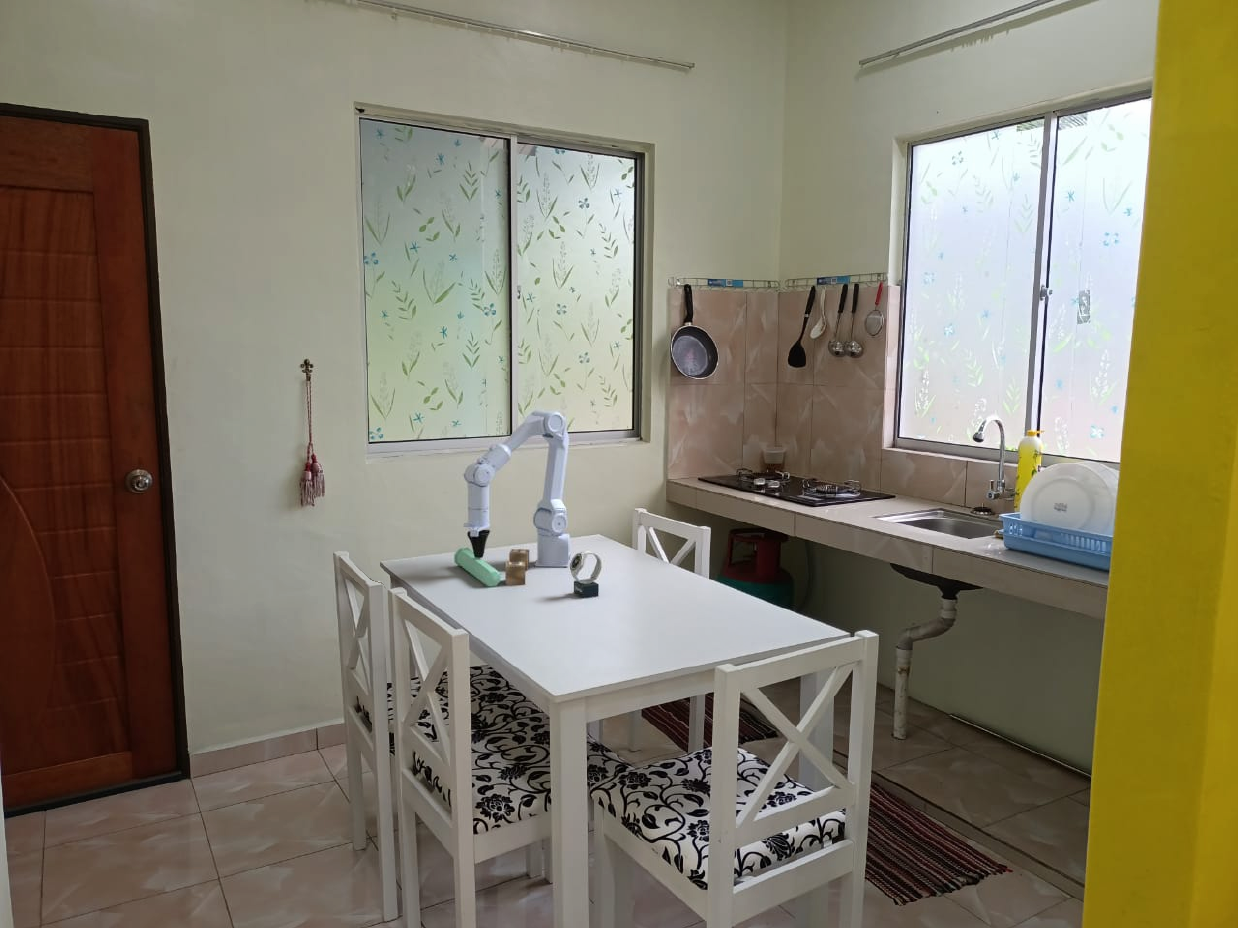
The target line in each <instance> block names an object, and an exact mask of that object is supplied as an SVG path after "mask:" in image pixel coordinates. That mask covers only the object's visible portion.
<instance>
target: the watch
mask: <svg viewBox="0 0 1238 928" xmlns="http://www.w3.org/2000/svg"><path fill="white" fill-rule="evenodd" d="M588 555H593V556H594V557H595V559H596V563H595V566H594V569H593V571H592V573H591V574H590V577H589V578H586V579H579V578H578V577H577V576H578V575H579V573H580V572H581V570H582V569H583V568H584V566H585V563H586V559H587V557H588ZM602 566H603V565H602V559H601V558H600V556H599V555H598V554H597V553H594V552H592V551H590V550H584V551H581V552H578V553H576V554H575V555H574V556H573V557H572V559H571V560H570V562H569V570H570V573H571V576H572V577H573V578H574V580H573V593H574V594H575V595H576V596H578V595H579V596H578V597H580V598H582V599H588V598H597V597H599V594H600V593H599V591H600V590H599V589H600V588H599V587H600V586H599V583H597V582H595V581H596V580H597V579H598V577H599V575H600V573H601V572H602V571H601V570H602ZM596 596H597V597H596Z"/></svg>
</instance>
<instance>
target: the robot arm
mask: <svg viewBox="0 0 1238 928" xmlns="http://www.w3.org/2000/svg"><path fill="white" fill-rule="evenodd" d="M567 422H568V420H567V419H566V418H565V417H564V415H562V413H560V412H559V411H550V410H543V409H539V408H538V409H534V410H533V411H532V412H531V413H530V414H528V415H527V416H526V417H524V420H523V422H522V423H521V424H520V425H519V426H518V427H517V428H516V429H515V430H514V431H513V432H512V433H511V435H509V436H508V438H506V439H505V441H504V442H503V443H502V444H500V443H496V444H494V445H493V444H492V445H490V446H489V447H488V449H489V450H488V451H486V453H485V454H483V455H482V456H481V457H478V458H477V459H476V462H474V463H473V462H472V463H470V464H469V465H468V466H467V467H466V468H465V472H464V473H463V478H464V480H465V482H466V484H467V522H464V523H463V527H465V528H468V530H469V531H467V534H466V535H467V538H468V539H469V541H470V544H471V547H472V552H473V553H474V557H475V558H480V559H482V558H483V557H484V555H485V550H486V543H487V540H488V537H489V536H490V535H489V534H490V533H491V530H490V529H489V528H491V523H490V484H492V482H493V481H494V477H495V475H496V473H498V472H499V470H501V469H502V468H503V467H504V466H505V465H506V464H507V463H508V462H509V461H510V460H511V456H512V453H513V452H514V451H516V450H517V449H518V448H519V447H520V446H522V444H524V443H525V442H526V441H527V440H529V439H530V438H531V437H533V436H542V437H543V439H544V440H545V441H546V442H547V443H548V454H547V459H546V461H547V463H546V469H545V476H544V477H545V478H544V485H543V491H542V499H541V500H540V501H539V502H537V505H536V510H535V511H534V513H533V516H532V523H533V526H534V527H535V529H536V532H537V537H536V538H537V539H536V540H537V543H536V544H537V546H536V548H537V549H536V550H537V552H536V554H537V555H536V556H537V557H536V561H535V563H534V567H549V568H551V567H552V568H553V567H558V568H568V567H569V566H570V563H571V556H572V555H571V538H570V537H571V536H570V535H571V534H570V533H564V532H565V531H566V530H567V528H568V523H569V522H568V517H567V507H566V506H565V504H564V502H563V493H564V485H565V478H566V477H565V476H566V469H567V461H568V455H569V453H568V452H569V447H570V436H569V434H568V429H567Z"/></svg>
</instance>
